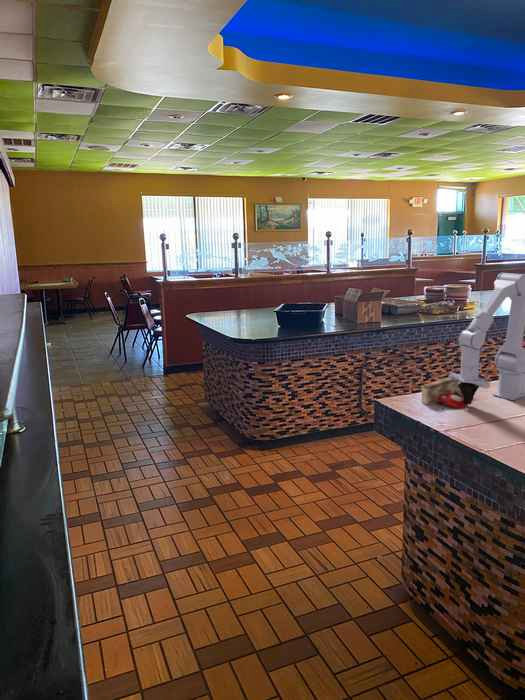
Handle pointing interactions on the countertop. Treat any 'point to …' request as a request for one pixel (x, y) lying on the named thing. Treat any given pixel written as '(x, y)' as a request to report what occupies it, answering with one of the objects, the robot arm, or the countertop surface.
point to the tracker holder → (452, 399)
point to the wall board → (438, 389)
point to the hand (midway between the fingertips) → (467, 403)
